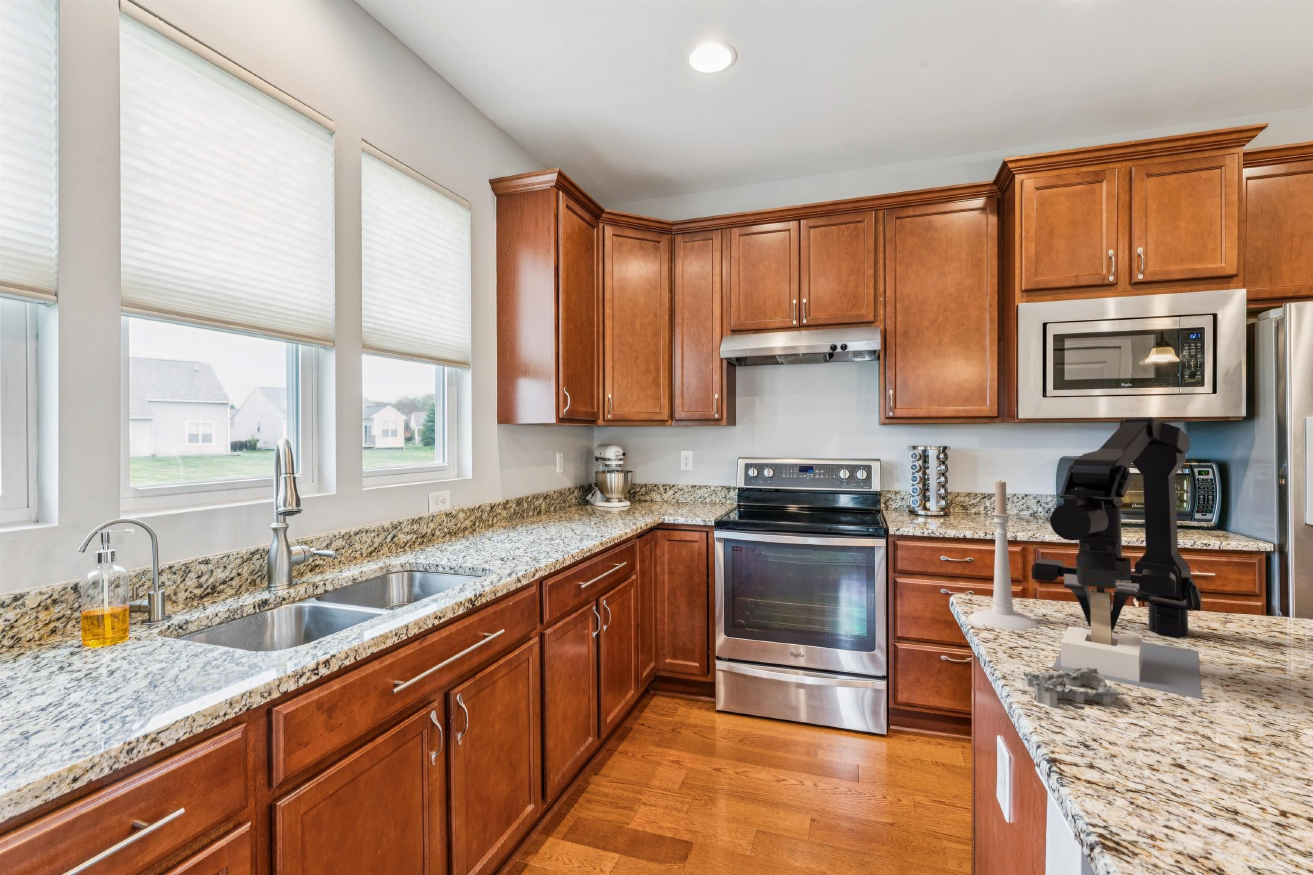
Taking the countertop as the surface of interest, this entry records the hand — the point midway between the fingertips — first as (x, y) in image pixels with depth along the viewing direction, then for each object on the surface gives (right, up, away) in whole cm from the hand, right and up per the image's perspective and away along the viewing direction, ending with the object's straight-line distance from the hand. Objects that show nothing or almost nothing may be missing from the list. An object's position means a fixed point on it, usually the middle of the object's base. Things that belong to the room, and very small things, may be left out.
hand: (1101, 627), depth 97 cm
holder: (0, -6, 0) cm, 6 cm away
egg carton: (-12, -8, -10) cm, 18 cm away
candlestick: (-2, -7, +24) cm, 25 cm away
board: (+6, -7, +2) cm, 9 cm away
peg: (0, -4, 0) cm, 4 cm away
